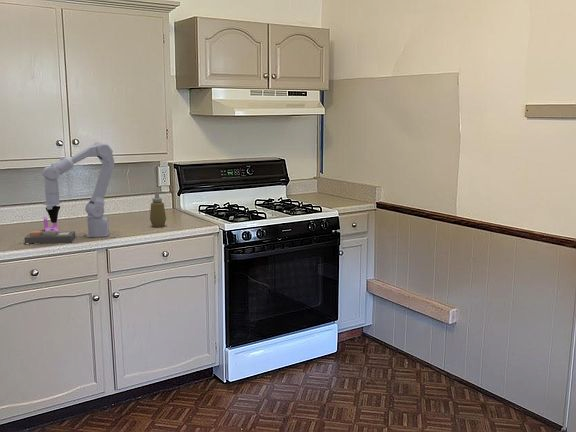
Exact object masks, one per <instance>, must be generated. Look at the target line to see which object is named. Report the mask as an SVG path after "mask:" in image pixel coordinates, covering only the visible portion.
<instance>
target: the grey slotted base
mask: <svg viewBox="0 0 576 432" xmlns="http://www.w3.org/2000/svg"><path fill="white" fill-rule="evenodd" d="M44 232H45V231H44ZM44 232H43V235H42V236H30V233H28V234H27V235H25V237H24V238H23V239H24V244H25V243H46V244H69V243H72V242H73V241H74V240H75V239H76V236H77V235H76V231H75V230H73V231H72V230H71V231H69V232H70V234H69V235H58V234H59V233H66V232H67V231H59V232H56V235H55V236H44Z"/></svg>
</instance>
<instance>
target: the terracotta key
mask: <svg viewBox="0 0 576 432" xmlns="http://www.w3.org/2000/svg"><path fill="white" fill-rule="evenodd" d="M29 234H30V236H42V235H43V230H32V231H30V232H29Z"/></svg>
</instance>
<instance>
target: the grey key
mask: <svg viewBox="0 0 576 432" xmlns="http://www.w3.org/2000/svg"><path fill="white" fill-rule="evenodd" d="M55 235H56V230H46V231H45V230H44V236H55Z"/></svg>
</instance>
